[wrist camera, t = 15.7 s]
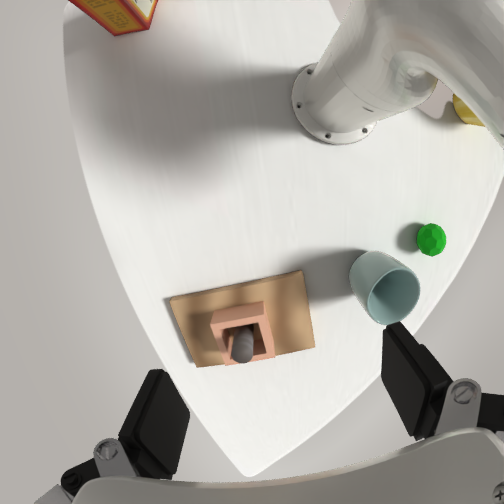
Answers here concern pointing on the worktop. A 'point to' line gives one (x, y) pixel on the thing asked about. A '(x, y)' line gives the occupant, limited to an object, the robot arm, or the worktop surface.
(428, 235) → the polyhedron
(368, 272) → the cup
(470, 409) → the robot arm
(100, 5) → the baking soda box
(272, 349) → the collar
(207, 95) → the worktop surface
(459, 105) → the plant pot
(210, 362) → the post board
